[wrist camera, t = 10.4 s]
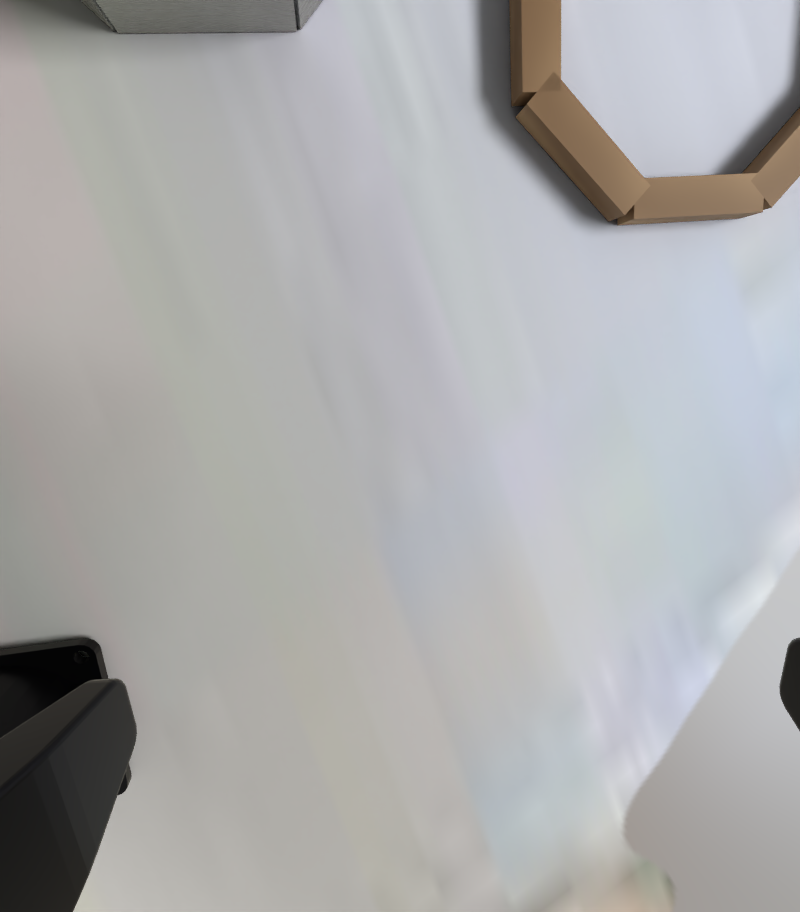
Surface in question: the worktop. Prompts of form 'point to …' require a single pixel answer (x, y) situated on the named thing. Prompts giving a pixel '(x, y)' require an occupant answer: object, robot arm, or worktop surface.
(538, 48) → the walnut ring
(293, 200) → the worktop surface
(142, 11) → the hub socket
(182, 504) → the worktop surface
